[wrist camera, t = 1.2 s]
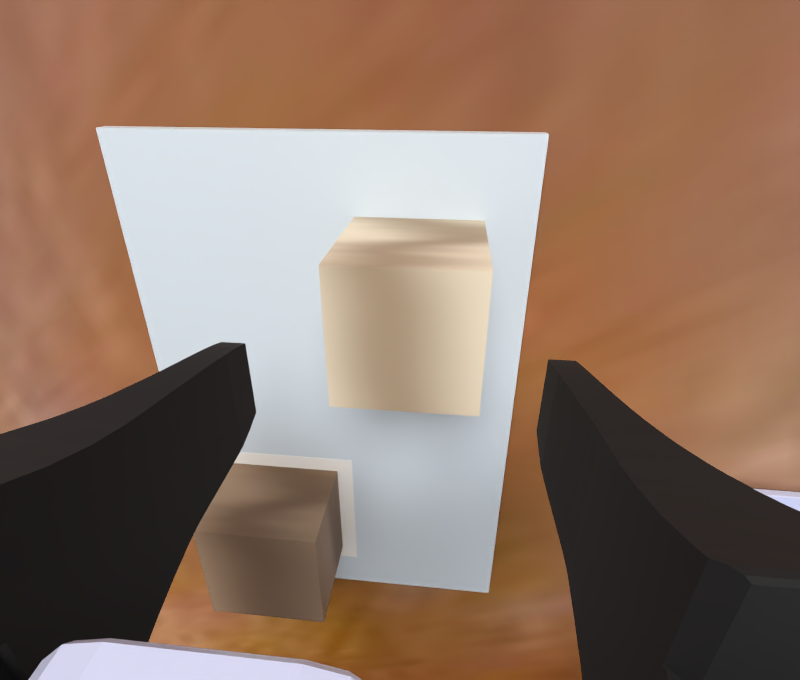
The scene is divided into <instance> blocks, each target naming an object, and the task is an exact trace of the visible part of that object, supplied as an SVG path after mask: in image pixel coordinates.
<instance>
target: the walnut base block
mask: <svg viewBox="0 0 800 680" xmlns="http://www.w3.org/2000/svg"><path fill="white" fill-rule="evenodd" d="M193 535H194V539H195V542H196V546H197V550H198V553H199V557H200V561H201V565H202V568H203V572H204V576H205V579H206V583H207V587H208V591H209V594H210V598H211V602H212V605H213V609H214V611H224V612H233V613H243V614H252V615H261V616H271V617H280V618H290V619H299V620H308V621H318V622H324V620H325V616H326V612H327V608H328V604H329V600H330V596H331V592H332V588H333V584H334V580H335V576H336V572H337V568H338V564H339V560H340V556H341V552H342V548H343V542H342V528H341V515H340V501H339V487H338V473H337V471H329V470H316V469H303V468H290V467H277V466H264V465H252V464H239V463H234V464H233V466H232V467H231V469H230V471H229V473H228V474H227V476H226V478H225V479H224V481H223V483H222V485H221V486H220V488H219V490H218V492H217V493H216V495H215V497H214V498H213V500H212V502H211V504H210V505H209V507H208V509H207V511H206V512H205V514H204V516H203V517H202V519H201V521H200V523H199V525H198V527H197V528H196V530H195V532H194V534H193Z"/></svg>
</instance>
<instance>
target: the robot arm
mask: <svg viewBox="0 0 800 680" xmlns="http://www.w3.org/2000/svg"><path fill="white" fill-rule="evenodd" d="M255 415H256V407H255V401H254V395H253V388H252V382H251V376H250V370H249V364H248V357H247V351H246V345H245V343H230V342H220V343H217V344H214V345H212V346H210V347H207V348H205V349H203V350H201V351H199V352H197V353H195V354H193V355H191V356H189V357H187V358H185V359H183V360H181V361H179V362H177V363H175V364H173V365H171V366H169V367H168V368H166V369H164V370H162V371H160V372H158V373H156V374H154V375H152V376H150V377H148V378H146V379H144V380H141V381H139V382H137V383H135V384H133V385H131V386H129V387H126V388H124V389H122V390H120V391H118V392H116V393H114V394H112V395H109V396H107V397H105V398H102V399H100V400H98V401H95V402H93V403H90V404H88V405H86V406H83V407H80V408H78V409H75V410H72V411H70V412H67V413H64V414H62V415H59V416H56V417H53V418H51V419H47V420H44V421H41V422H38V423H35V424H32V425H28V426H25V427H22V428H19V429H16V430H12V431H9V432H6V433H3V434H0V680H362V679H360V678H359V677H357V676H356V675H354V674H353V673H351V672H350V671H347V670H343V669H339V668H335V667H332V666H328V665H324V664H320V663H316V662H313V661H309V660H304V659H295V658H286V657H276V656H267V655H258V654H249V653H240V652H231V651H222V650H213V649H204V648H195V647H186V646H177V645H168V644H159V643H150V642H148V641H149V639H150V636H151V633H152V631H153V628H154V625H155V623H156V620H157V618H158V615H159V613H160V610H161V608H162V605H163V603H164V600H165V598H166V596H167V593H168V591H169V588H170V586H171V583H172V581H173V578H174V576H175V574H176V572H177V569H178V567H179V565H180V563H181V560H182V558H183V556H184V554H185V551H186V549H187V547H188V545H189V542H190V540H191V538H192V536H193V534H194V532H195V530H196V528H197V527H198V525H199V523H200V521H201V519H202V517H203V516H204V514H205V512H206V511H207V509H208V507H209V505H210V504H211V502H212V500H213V498H214V497H215V495H216V493H217V492H218V490H219V488H220V486H221V485H222V483H223V481H224V479H225V478H226V476H227V474H228V473H229V471H230V469H231V467H232V466H233V464H234V462H235V460H236V458H237V457H238V455H239V453H240V451H241V449H242V448H243V446H244V443H245V441H246V438H247V436H248V433H249V431H250V428H251V426H252V423H253V420H254V417H255ZM537 438H538V448H539V456H540V464H541V470H542V474H543V478H544V482H545V486H546V490H547V494H548V497H549V501H550V505H551V509H552V513H553V516H554V520H555V524H556V528H557V532H558V535H559V539H560V543H561V547H562V550H563V554H564V559H565V564H566V568H567V573H568V579H569V586H570V593H571V599H572V606H573V612H574V619H575V626H576V634H577V641H578V649H579V656H580V663H581V671H582V680H800V492H790V491H777V490H764V489H753V488H751V487H749V486H747V485H745V484H744V483H742V482H740V481H738V480H736V479H734V478H732V477H731V476H729V475H727V474H725V473H723V472H722V471H720V470H718V469H716V468H715V467H713V466H711V465H710V464H708V463H706V462H705V461H703V460H702V459H700V458H698V457H697V456H695V455H694V454H692V453H691V452H689V451H687V450H686V449H684V448H683V447H681V446H680V445H678V444H677V443H675V442H674V441H672V440H671V439H670V438H668V437H667V436H665V435H664V434H663V433H661V432H660V431H659V430H657V429H656V428H655V427H653V426H652V425H651V424H649V423H648V422H647V421H645V420H644V419H643V418H641V417H640V416H639V415H638V414H637V413H635V412H634V411H633V410H632V409H630V408H629V407H628V406H627V405H626V404H624V403H623V402H622V401H621V400H620V399H619V398H617V397H616V396H615V395H614V394H613V393H612V392H611V391H609V390H608V389H607V388H606V387H605V386H604V385H603V384H602V383H600V382H599V381H598V380H597V379H596V378H595V377H594V376H593V375H592V374H590V373H589V372H588V371H587V370H586V369H585V368H584V367H583V366H581V365H580V364H579V363H578V362H576V361H566V360H548V365H547V371H546V377H545V383H544V389H543V396H542V402H541V408H540V414H539V420H538V426H537Z"/></svg>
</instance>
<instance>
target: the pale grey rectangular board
mask: <svg viewBox="0 0 800 680" xmlns="http://www.w3.org/2000/svg"><path fill="white" fill-rule="evenodd" d="M96 130H97V134H98V138H99V142H100V146H101V150H102V154H103V157H104V161H105V165H106V169H107V173H108V177H109V181H110V185H111V188H112V192H113V196H114V200H115V204H116V208H117V212H118V215H119V219H120V223H121V227H122V231H123V235H124V239H125V242H126V246H127V250H128V254H129V258H130V262H131V266H132V269H133V273H134V277H135V281H136V285H137V289H138V293H139V296H140V300H141V304H142V308H143V312H144V316H145V320H146V324H147V327H148V331H149V335H150V339H151V343H152V347H153V351H154V354H155V358H156V362H157V366H158V370H159V372H160V371H162V370H164V369H166V368H168V367H169V366H171V365H173V364H175V363H177V362H179V361H181V360H183V359H185V358H187V357H189V356H191V355H193V354H195V353H197V352H199V351H201V350H203V349H205V348H207V347H210V346H212V345H214V344H217V343H220V342H230V343H245V345H246V351H247V357H248V364H249V370H250V376H251V382H252V388H253V395H254V401H255V407H256V415H255V417H254V420H253V423H252V426H251V428H250V431H249V433H248V436H247V438H246V441H245V443H244V446H243V448H242V449H241V451H240V453H239V455H238V457H237V458H236V460H235V462H234V463H239V464H252V465H264V466H277V467H290V468H303V469H316V470H329V471H337V473H338V487H339V501H340V515H341V528H342V542H343V548H342V552H341V556H340V560H339V564H338V568H337V572H336V576H335V578H341V579H351V580H362V581H372V582H382V583H392V584H403V585H413V586H423V587H433V588H444V589H454V590H464V591H474V592H485V593H488V592H489V585H490V577H491V570H492V562H493V554H494V547H495V539H496V532H497V524H498V517H499V509H500V501H501V494H502V486H503V479H504V471H505V463H506V456H507V448H508V441H509V433H510V426H511V418H512V410H513V403H514V395H515V388H516V380H517V373H518V365H519V357H520V350H521V342H522V335H523V327H524V320H525V312H526V304H527V297H528V289H529V282H530V274H531V266H532V259H533V251H534V244H535V236H536V229H537V221H538V213H539V206H540V198H541V191H542V183H543V176H544V168H545V160H546V153H547V145H548V138H549V134H548V133H546V132H487V131H417V130H347V129H278V128H208V127H138V126H104V127H97V128H96ZM353 217H383V218H416V219H448V220H481V221H485V225H486V231H487V237H488V244H489V250H490V256H491V262H492V268H493V278H492V288H491V299H490V309H489V320H488V330H487V341H486V351H485V362H484V373H483V383H482V394H481V404H480V415H479V416H464V415H449V414H434V413H419V412H404V411H389V410H373V409H358V408H343V407H329V396H328V383H327V370H326V357H325V344H324V330H323V317H322V304H321V291H320V278H319V264H320V262H321V261H322V259H323V258H324V257H325V255H326V254H327V253H328V251H329V250H330V249H331V247H332V246H333V245H334V243H335V242H336V241H337V239H338V238H339V236H340V235H341V234H342V232H343V231H344V230H345V228H346V227H347V226H348V224H349V223H350V222H351V220H352V219H353Z"/></svg>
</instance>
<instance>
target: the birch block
mask: <svg viewBox="0 0 800 680" xmlns="http://www.w3.org/2000/svg"><path fill="white" fill-rule="evenodd" d="M319 278H320V291H321V304H322V317H323V330H324V344H325V357H326V370H327V383H328V396H329V407H343V408H358V409H373V410H389V411H404V412H419V413H434V414H449V415H464V416H479V415H480V404H481V394H482V383H483V373H484V362H485V351H486V341H487V330H488V320H489V309H490V299H491V288H492V278H493V268H492V262H491V256H490V250H489V244H488V237H487V231H486V225H485V221H481V220H448V219H416V218H383V217H353V219H352V220H351V222H350V223H349V224H348V226H347V227H346V228H345V230H344V231H343V232H342V234H341V235H340V236H339V238H338V239H337V241H336V242H335V243H334V245H333V246H332V247H331V249H330V250H329V251H328V253H327V254H326V255H325V257H324V258H323V259H322V261H321V262H320V264H319Z"/></svg>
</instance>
